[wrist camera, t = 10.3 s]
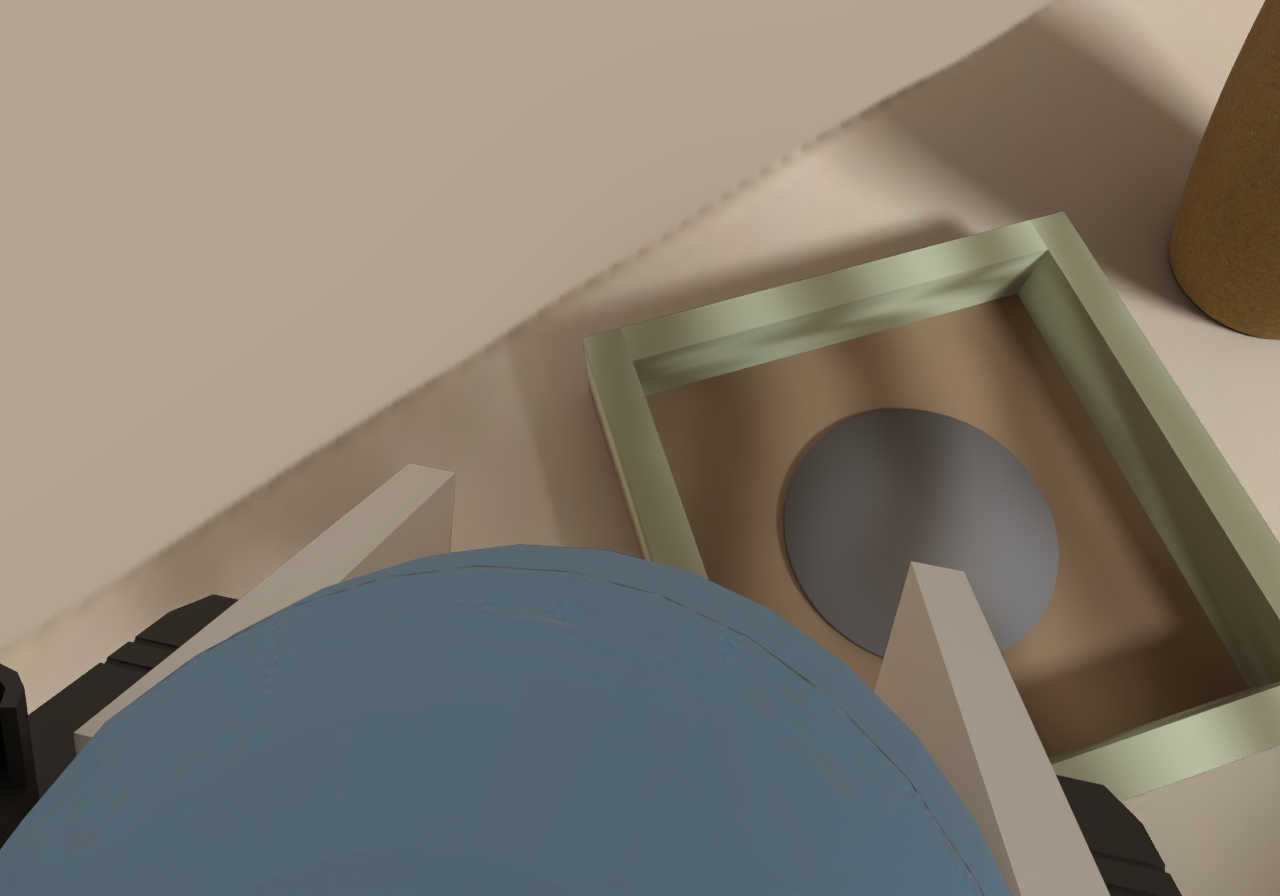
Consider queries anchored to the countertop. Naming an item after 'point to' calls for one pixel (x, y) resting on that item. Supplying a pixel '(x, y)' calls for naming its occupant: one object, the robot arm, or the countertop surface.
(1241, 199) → the plant pot
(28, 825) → the toy rocket
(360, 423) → the countertop surface
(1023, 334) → the cradle
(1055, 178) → the countertop surface
